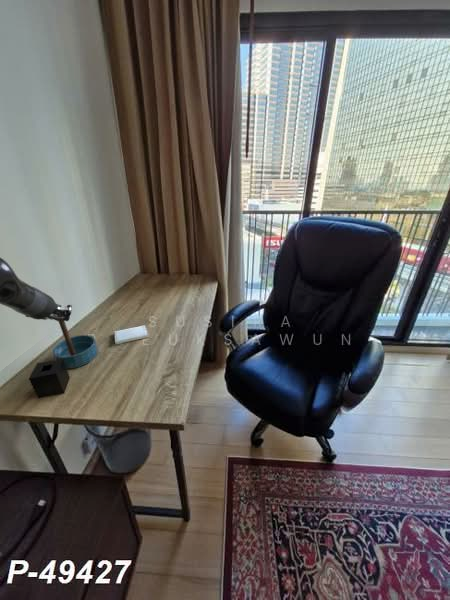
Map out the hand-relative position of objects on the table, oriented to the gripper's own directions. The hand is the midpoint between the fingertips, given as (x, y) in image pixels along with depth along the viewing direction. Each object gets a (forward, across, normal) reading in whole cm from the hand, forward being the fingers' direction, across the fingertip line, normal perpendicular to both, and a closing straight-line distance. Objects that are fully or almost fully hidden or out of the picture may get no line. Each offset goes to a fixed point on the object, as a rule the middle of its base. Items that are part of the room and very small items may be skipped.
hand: (64, 318), depth 85 cm
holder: (+1, +2, +22) cm, 22 cm away
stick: (+8, 0, +11) cm, 14 cm away
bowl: (+11, -1, +12) cm, 16 cm away
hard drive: (+19, -17, +4) cm, 26 cm away
